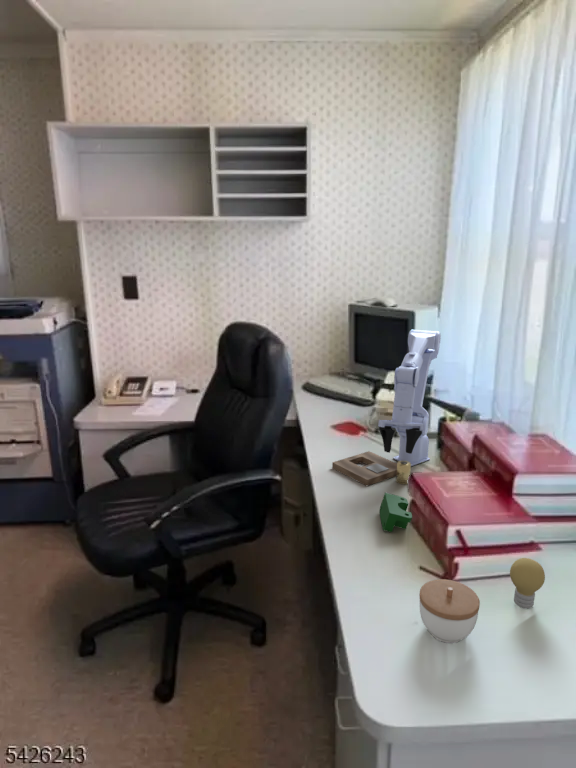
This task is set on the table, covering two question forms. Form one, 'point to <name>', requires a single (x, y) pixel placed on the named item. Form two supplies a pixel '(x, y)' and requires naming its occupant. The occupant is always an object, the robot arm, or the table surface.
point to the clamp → (394, 512)
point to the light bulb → (526, 581)
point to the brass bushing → (403, 471)
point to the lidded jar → (448, 609)
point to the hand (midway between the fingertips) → (397, 452)
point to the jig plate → (367, 468)
